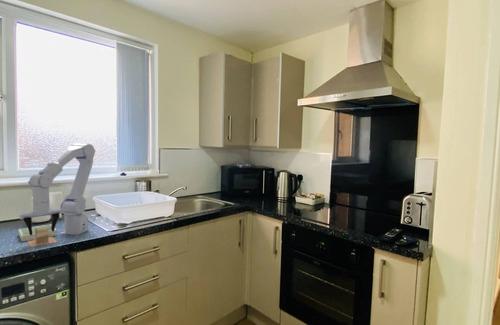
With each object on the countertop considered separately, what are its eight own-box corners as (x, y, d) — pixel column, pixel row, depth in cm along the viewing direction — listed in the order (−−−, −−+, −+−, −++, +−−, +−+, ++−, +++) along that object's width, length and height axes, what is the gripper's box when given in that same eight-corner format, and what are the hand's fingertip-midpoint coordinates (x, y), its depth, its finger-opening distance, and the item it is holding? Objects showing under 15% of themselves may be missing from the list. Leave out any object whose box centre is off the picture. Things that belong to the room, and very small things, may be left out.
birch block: (48, 241, 120) (48, 227, 120) (37, 243, 117) (36, 229, 117) (46, 239, 123) (46, 226, 122) (35, 241, 120) (35, 227, 120)
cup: (45, 219, 156) (44, 194, 155) (54, 221, 152) (53, 196, 151) (27, 223, 148) (27, 197, 147) (36, 225, 145) (35, 198, 144)
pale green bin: (56, 236, 128) (56, 229, 128) (21, 242, 119) (21, 235, 119) (51, 230, 137) (51, 224, 137) (18, 235, 128) (18, 229, 128)
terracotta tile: (56, 242, 120) (56, 241, 120) (30, 248, 113) (30, 246, 113) (52, 237, 126) (52, 236, 126) (27, 242, 120) (27, 241, 120)
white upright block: (60, 216, 164) (60, 191, 163) (64, 218, 160) (64, 192, 159) (47, 218, 159) (46, 192, 158) (50, 220, 154) (50, 194, 154)
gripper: (59, 198, 127) (59, 227, 127) (18, 202, 116) (19, 234, 117) (62, 200, 122) (63, 230, 123) (20, 205, 111) (21, 238, 112)
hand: (42, 232), depth 119 cm, fingers open, 7 cm apart
